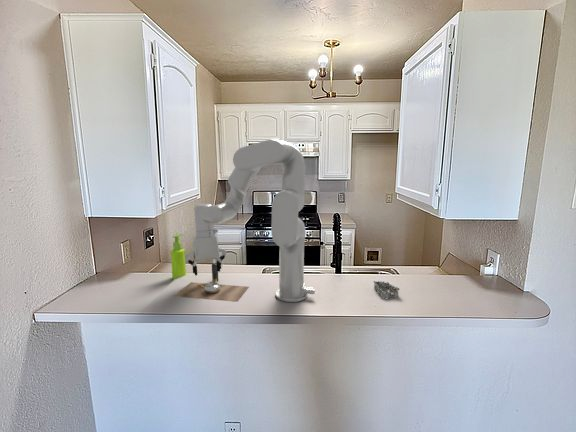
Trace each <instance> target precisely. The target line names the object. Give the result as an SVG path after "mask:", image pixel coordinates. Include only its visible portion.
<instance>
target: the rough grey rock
mask: <svg viewBox="0 0 576 432" xmlns="http://www.w3.org/2000/svg"><path fill="white" fill-rule="evenodd" d="M387 288H389V289H387ZM373 290H374V291H375V290H377V291H376V292H377V293H376V294H378V295H380V297H381V298H382V297H384V299H386V298H393V297H394V298H393V299H397V298H398V297H399V291H400V287H398V286H394V285H393V284H390V283H389V282H388V281H386V282H385V281H379V280H378V281H375V280H373ZM388 291H389V292H388ZM390 291H391V292H390ZM397 296H398V297H397Z"/></svg>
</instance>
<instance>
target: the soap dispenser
mask: <svg viewBox="0 0 576 432" xmlns="http://www.w3.org/2000/svg"><path fill="white" fill-rule="evenodd" d="M181 236H183V233H182V234H181V233H180V234H179V233H176V234H175V235H173V238H174V242H172V243H173V248H172V249H171V250H170V260H171V273H172V280H176V279H177V278H182V277H184V276H186V275H187V269H186V258H185V256H186V253H185V252H186V251H185V250H186V249H185V248H182V241H180V237H181Z"/></svg>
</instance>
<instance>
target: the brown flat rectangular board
mask: <svg viewBox="0 0 576 432" xmlns="http://www.w3.org/2000/svg"><path fill="white" fill-rule="evenodd" d="M206 284H208V283H205V282H189V284H187V285H186V286H185V287H182V288H181V289H180V290H178V292H177V293H175V294H174V295H173V297H181V298H191V299H204V300H216V301H223V302H224V301H225V302H237V303H238V302H239V300H240V299H242V297H243V296H244V295H245V293H246V292H247V291H248V290H249V288H250V286H245V285H244V286H243V285H230V284H220V291H219V292H217V293H213V294H209V293H206V292H205V285H206Z"/></svg>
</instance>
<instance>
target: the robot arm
mask: <svg viewBox="0 0 576 432" xmlns="http://www.w3.org/2000/svg"><path fill="white" fill-rule="evenodd" d="M232 162H233V163H232V164H233V165H234V169H233V170H232V172H231V173H230V176H229V177H227V178H228V179H227V182H228V184H229V186H230V191H229V193H228V195H227V197H226V198H225V200H224V201H223V203H218V204H213V205H212V204H211V203H199V204H196V205H194V227H195V236H193V243H192V245H193V247H192V248H193V250H192V251H190V253H188V254H185V261H187V263H188V264H189V265H191V266H192V273H193V274H194V275H195V276H198V266H197V264H198V263H199V262H204V261H210V260H216V263H217V264H218V273H219V272H221V270H222V262H223V260H224V259H225V258H226V254H227V252H228V251H227V250H225V249H223V248H221V247H219V243H218V238H217V235H216V234H217V233H219V230H218V229H215V225H216V224H217V225H218V224H221V223H225V222H227V221H230V220H232V219H234V218H235V216H237V214H238V212H239V211H240V209H241V208H242V206H243V204H244V203H245V200H246V197H247V192H248V189H249V188H250V186H251V184H252V183H253V181H254V180H255V178H256V176H257V175H258V173H259V171H260V170H261V168H264V167H268V166H273V165H281V166H282V169H283V170H282V172H281V173H282V174H281V190H280V191H279V192H277V193H276V194H275V195H274V197H273V199H272V204H271V227H270V228H271V231H270V232H271V236H272V237H271V238H272V240H273V242H274V244H275V245H277V246H278V247H279V250H278V251H279V257H278V258H279V259H278V262H279V263H278V265H279V266H278V267H279V271H278V273H279V277H278V278H279V282H278V283H279V285H278V287H279V288H278V289H277V290H276V291H275V297H276V298H277V299H278V300H279V301H281V302H285V303H298V302H302V301H304V300H306V299H307V297H308V294H309V295H315V292H316V289H314V288H313V287H312V286H306V283H305V282H304V281H305V279H304V274H305V273H304V271H305V259H304V258H305V241H306V240H305V239H306V225H305V222H304V221H303V220H302V219H301V218H300V217H299V212H301V210H303V208H304V207H305V190H306V189H305V186H306V183H305V182H306V181H305V180H306V179H305V178H306V163H305V158H304V155H303V153H302V152H301V151H300V149H299V148H297V146H295V145H294V144H292V143H290V142H288V141H285V140H280V139H276V138H275V139H274V138H273V139H272V138H271V139H267V140H263V141H260V142H257V143H253V144H249V145H246V146H242V147H240V148H238V149H237V150H236V151H235V153H234V154H233V158H232ZM220 253H221V255H220ZM191 257H193V260H191V259H190V258H191Z"/></svg>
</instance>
